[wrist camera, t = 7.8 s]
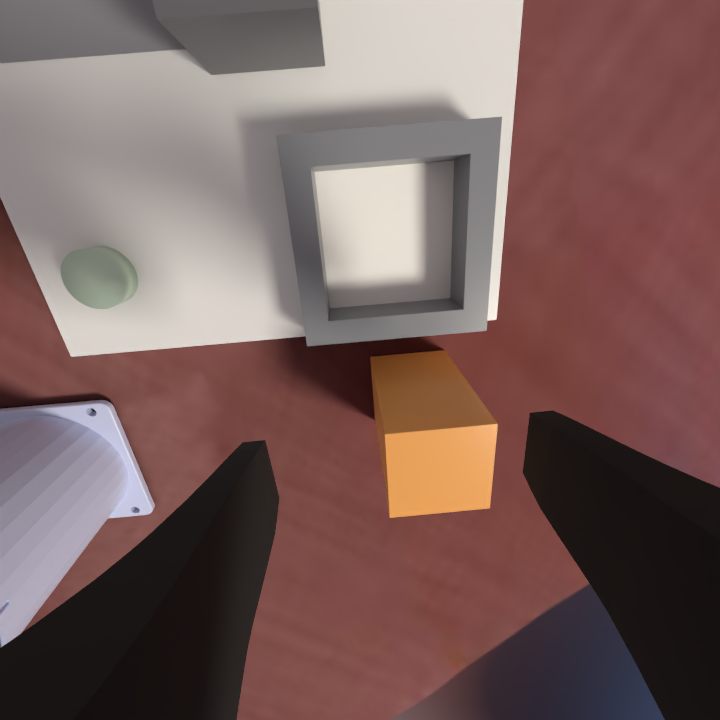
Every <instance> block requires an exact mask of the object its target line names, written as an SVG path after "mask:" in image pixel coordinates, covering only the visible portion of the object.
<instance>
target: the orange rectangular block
mask: <svg viewBox="0 0 720 720" xmlns="http://www.w3.org/2000/svg"><path fill="white" fill-rule="evenodd" d="M370 360H371V374H372V387H373V401H374V415H375V424H376V431H377V437H378V444H379V450H380V457H381V463H382V470H383V476H384V483H385V489H386V496H387V502H388V509H389V515H390V518H393V517H403V516H414V515H424V514H434V513H445V512H455V511H466V510H476V509H487V508H490V500H491V490H492V479H493V468H494V458H495V447H496V436H497V426H498V424H497V422H496V421H495V419H494V418H493V417H492V415H491V414H490V413H489V411H488V410H487V408H486V407H485V406H484V404H483V403H482V401H481V400H480V399H479V397H478V396H477V394H476V393H475V392H474V390H473V389H472V387H471V386H470V385H469V383H468V382H467V381H466V379H465V378H464V376H463V375H462V374H461V372H460V371H459V369H458V368H457V367H456V365H455V364H454V362H453V361H452V360H451V358H450V357H449V355H448V354H447V353H446V351H445V350H441V351H430V352H419V353H407V354H396V355H385V356H374V357H370Z"/></svg>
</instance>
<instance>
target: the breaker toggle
mask: <svg viewBox="0 0 720 720" xmlns="http://www.w3.org/2000/svg"><path fill="white" fill-rule="evenodd" d="M152 1H153V5H154V9H155V14H156V18H157V20H158V21H159V22H160V23H161V24H162V25H163V26H164V27H165V28H166V29H167V30H168V31H169V32H170V33H171V34H172V35H173V36H174V37H175V38H176V39H177V40H178V41H179V42H180V43H181V44H182V45H183V46H184V47H185V48H186V49H187V50H188V51H189V52H190V53H191V54H192V55H193V56H194V57H195V58H196V59H197V60H198V61H199V62H200V63H201V65H202V66H203V67H204V68H205V69H206V70H207V71H208V72H209V73H210V74H211V75H219V74H232V73H245V72H257V71H270V70H283V69H296V68H308V67H321V66H325V57H324V46H323V36H322V25H321V14H320V3H319V0H152Z"/></svg>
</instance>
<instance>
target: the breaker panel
mask: <svg viewBox="0 0 720 720" xmlns="http://www.w3.org/2000/svg"><path fill="white" fill-rule="evenodd" d="M319 3H320V14H321V25H322V36H323V46H324V57H325V66H321V67H308V68H296V69H283V70H270V71H257V72H245V73H232V74H219V75H211V74H210V73H209V72H208V71H207V70H206V69H205V68H204V67H203V66H202V65H201V63H200V62H199V61H198V60H197V59H196V58H195V57H194V56H193V55H192V54H191V53H190V52H189V51H188V50H187V49H186V48H185V47H184V46H183V45H182V44H181V43H180V42H179V41H178V40H177V39H176V38H175V37H174V36H173V35H172V34H171V33H170V32H169V31H168V30H167V29H166V28H165V27H164V26H163V25H162V24H161V23H160V22H159V21H158V20H157V18H156V14H155V9H154V5H153V1H152V0H0V198H1V200H2V202H3V205H4V207H5V209H6V211H7V214H8V216H9V218H10V220H11V223H12V225H13V227H14V229H15V232H16V234H17V236H18V238H19V241H20V243H21V245H22V247H23V250H24V252H25V254H26V256H27V259H28V261H29V263H30V265H31V268H32V270H33V272H34V274H35V277H36V279H37V281H38V283H39V286H40V288H41V290H42V292H43V295H44V297H45V299H46V301H47V304H48V306H49V308H50V310H51V313H52V315H53V317H54V319H55V322H56V324H57V326H58V328H59V331H60V333H61V335H62V337H63V340H64V342H65V344H66V346H67V349H68V351H69V353H70V355H71V357H74V356H86V355H97V354H109V353H120V352H132V351H143V350H155V349H166V348H177V347H189V346H200V345H212V344H223V343H235V342H246V341H258V340H269V339H281V338H292V337H304V336H306V342H307V346H317V345H329V344H340V343H352V342H363V341H374V340H386V339H397V338H409V337H420V336H432V335H443V334H455V333H466V332H477V331H486V330H487V321H488V320H496V319H497V307H498V295H499V283H500V272H501V260H502V248H503V236H504V224H505V212H506V200H507V188H508V177H509V165H510V153H511V141H512V129H513V117H514V105H515V94H516V82H517V70H518V58H519V46H520V34H521V22H522V10H523V0H319Z"/></svg>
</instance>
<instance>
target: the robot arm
mask: <svg viewBox="0 0 720 720" xmlns="http://www.w3.org/2000/svg"><path fill="white" fill-rule="evenodd" d="M91 408H92V409H94V410H95V411H96V412H94V411H92V409H91ZM523 474H524V476H525V478H526V480H527V482H528V484H529V487H530V489H531V491H532V493H533V495H534V497H535V499H536V501H537V503H538V505H539V506H540V508H541V510H542V511H543V513H544V514H545V516H546V518H547V519H548V521H549V522H550V524H551V525H552V527H553V528H554V530H555V531H556V533H557V535H558V536H559V538H560V539H561V541H562V542H563V544H564V545H565V547H566V548H567V550H568V551H569V553H570V554H571V556H572V557H573V559H574V560H575V562H576V563H577V565H578V566H579V568H580V569H581V571H582V572H583V574H584V575H585V577H586V578H587V580H588V581H589V583H590V584H591V586H592V587H593V589H594V590H595V592H596V594H597V595H598V597H599V598H600V600H601V602H602V603H603V605H604V607H605V608H606V610H607V611H608V613H609V615H610V617H611V619H612V620H613V622H614V624H615V626H616V628H617V629H618V631H619V633H620V635H621V637H622V639H623V641H624V642H625V644H626V646H627V648H628V650H629V652H630V653H631V655H632V657H633V659H634V661H635V663H636V664H637V666H638V668H639V670H640V672H641V674H642V676H643V678H644V680H645V682H646V684H647V686H648V688H649V690H650V692H651V694H652V695H653V697H654V699H655V701H656V703H657V705H658V707H659V709H660V711H661V713H662V715H663V717H664V718H665V720H720V488H719V487H716V486H714V485H711V484H709V483H707V482H704V481H702V480H700V479H697V478H695V477H693V476H690V475H688V474H686V473H684V472H681V471H679V470H677V469H675V468H672V467H670V466H668V465H666V464H663V463H661V462H659V461H657V460H655V459H653V458H651V457H648V456H646V455H644V454H642V453H640V452H638V451H636V450H634V449H632V448H630V447H628V446H626V445H624V444H621V443H619V442H617V441H615V440H613V439H611V438H609V437H607V436H605V435H603V434H601V433H599V432H597V431H595V430H593V429H591V428H589V427H587V426H585V425H583V424H581V423H579V422H577V421H575V420H573V419H571V418H568V417H566V416H564V415H562V414H560V413H557V412H555V411H544V412H535V413H530V418H529V426H528V434H527V442H526V451H525V459H524V467H523ZM278 504H279V495H278V491H277V487H276V482H275V478H274V474H273V470H272V466H271V462H270V458H269V454H268V450H267V446H266V442H265V440H263V441H253V442H244V443H242V444H241V445H240V446H239V447H238V448H237V449H236V450H235V451H234V452H233V453H232V454H231V455H230V456H229V457H228V458H227V459H226V460H225V461H224V462H223V463H222V464H221V465H220V466H219V467H218V468H217V469H216V471H215V472H214V473H213V474H212V475H211V476H210V477H209V478H208V479H207V480H206V481H205V482H204V483H203V484H202V485H201V486H200V487H199V488H198V489H197V490H196V491H195V492H194V493H193V494H192V495H191V496H190V497H189V498H188V499H187V500H186V501H185V502H184V503H183V504H182V505H181V506H180V507H178V508H177V509H176V510H175V511H174V512H173V513H172V514H171V515H170V516H169V517H168V518H167V519H166V520H165V521H164V522H163V523H161V524H160V525H159V526H158V527H157V528H156V529H155V530H154V531H153V532H152V533H151V534H150V535H148V536H147V537H146V538H145V539H144V540H143V541H142V542H140V543H139V544H138V545H137V546H136V547H135V548H133V549H132V550H131V551H130V552H129V553H127V554H126V555H125V556H124V557H123V558H121V559H120V560H119V561H118V562H116V563H115V564H114V565H113V566H112V567H110V568H109V569H108V570H107V571H105V572H104V573H103V574H102V575H100V576H99V577H98V578H97V579H95V580H94V581H93V582H91V583H90V584H89V585H87V586H86V587H85V588H83V589H82V590H80V591H79V592H78V593H76V594H75V595H74V596H72V597H71V598H70V599H68V600H67V601H66V602H64V603H63V604H62V605H60V606H59V607H57V608H56V609H55V610H53V611H52V612H51V613H49V614H48V615H47V616H45V617H44V618H43V619H41V620H40V621H38V622H37V623H36V624H34V625H33V626H31V627H30V628H29V629H27V630H26V631H24V632H23V633H22V631H23V630H24V629H25V627H26V626H27V625H28V623H29V622H30V621H31V619H32V618H33V617H34V615H35V614H36V613H37V611H38V610H39V609H40V607H41V606H42V605H43V603H44V602H45V601H46V600H47V598H48V597H49V596H50V594H51V593H52V592H53V590H54V589H55V588H56V586H57V585H58V584H59V582H60V581H61V580H62V578H63V577H64V576H65V574H66V573H67V572H68V570H69V569H70V568H71V566H72V565H73V564H74V562H75V561H76V560H77V558H78V557H79V556H80V554H81V553H82V552H83V550H84V549H85V548H86V546H87V545H88V544H89V542H90V541H91V540H92V538H93V537H94V536H95V535H96V533H97V532H98V531H99V529H100V528H101V527H102V525H103V524H104V523H105V521H106V520H107V519H108V518H116V517H127V516H138V515H147V514H150V513H151V512H152V511H153V509H154V507H155V504H154V502H153V499H152V497H151V495H150V492H149V490H148V487H147V485H146V483H145V480H144V478H143V475H142V473H141V471H140V468H139V466H138V463H137V461H136V459H135V456H134V454H133V452H132V449H131V447H130V444H129V442H128V440H127V437H126V435H125V432H124V430H123V428H122V425H121V423H120V420H119V418H118V416H117V413H116V411H115V408H114V406H113V405H112V404H111V403H110V402H108V401H106V400H95V401H83V402H72V403H61V404H50V405H38V406H27V407H16V408H4V409H0V720H236V719H237V712H238V705H239V698H240V692H241V686H242V680H243V673H244V667H245V661H246V654H247V649H248V644H249V639H250V635H251V630H252V625H253V621H254V617H255V613H256V609H257V605H258V601H259V597H260V593H261V589H262V585H263V581H264V577H265V573H266V569H267V565H268V561H269V557H270V552H271V548H272V544H273V540H274V535H275V529H276V521H277V513H278Z"/></svg>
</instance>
